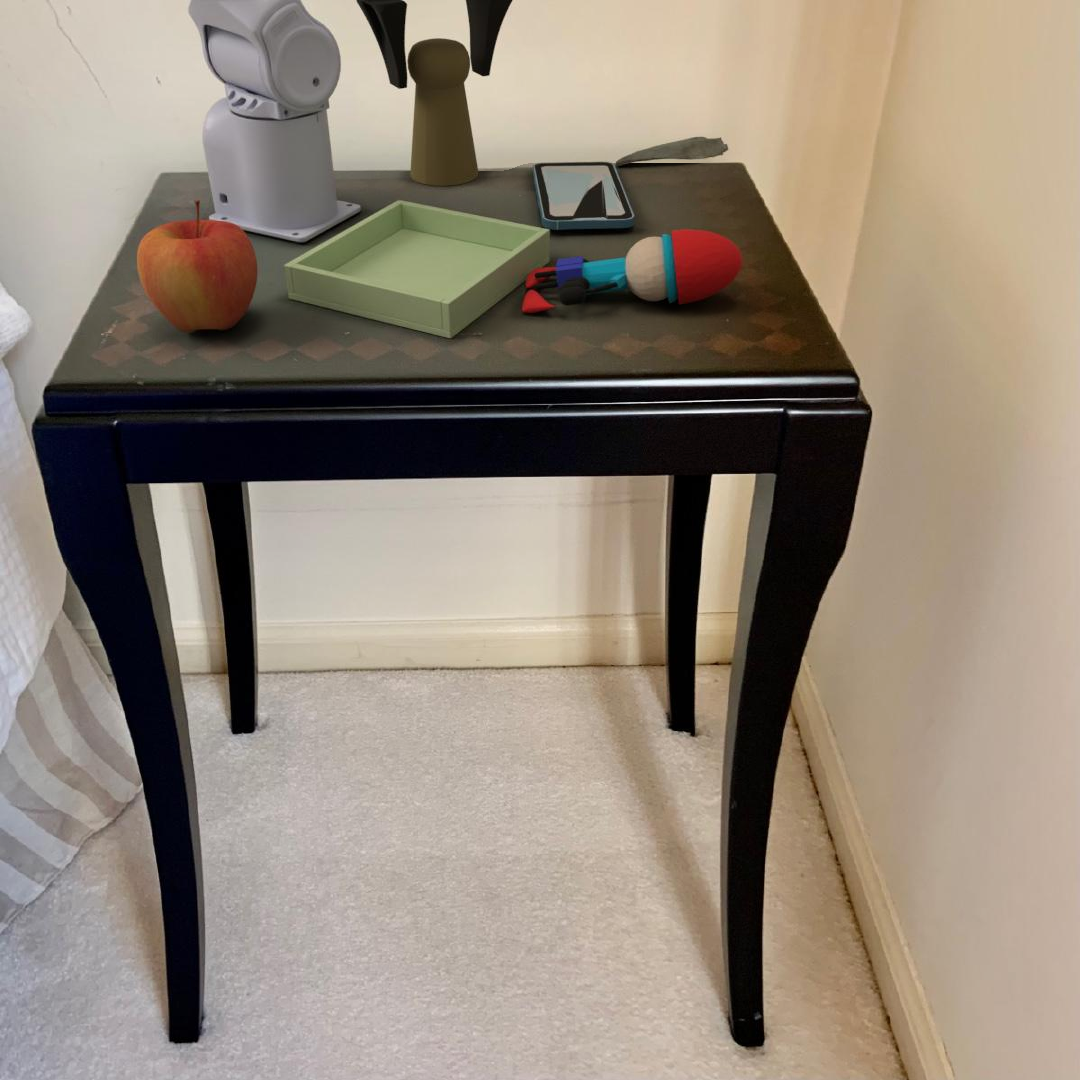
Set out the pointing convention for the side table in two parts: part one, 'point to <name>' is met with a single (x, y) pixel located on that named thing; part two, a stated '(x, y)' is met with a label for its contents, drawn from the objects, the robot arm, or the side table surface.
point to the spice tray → (419, 267)
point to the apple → (198, 272)
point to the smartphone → (581, 196)
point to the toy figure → (645, 271)
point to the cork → (441, 114)
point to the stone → (679, 150)
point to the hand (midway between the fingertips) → (440, 79)
